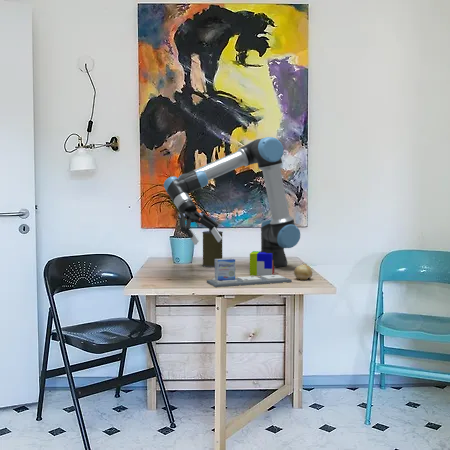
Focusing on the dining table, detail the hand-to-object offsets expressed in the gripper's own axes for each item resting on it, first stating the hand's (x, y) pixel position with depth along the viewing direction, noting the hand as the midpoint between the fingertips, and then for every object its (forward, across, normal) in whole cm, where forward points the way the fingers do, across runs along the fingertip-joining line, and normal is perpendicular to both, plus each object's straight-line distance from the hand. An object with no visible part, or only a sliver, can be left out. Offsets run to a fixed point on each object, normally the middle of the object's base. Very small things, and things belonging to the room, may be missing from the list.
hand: (208, 241), depth 241 cm
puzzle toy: (+15, -31, -10) cm, 35 cm away
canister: (-11, -34, -36) cm, 50 cm away
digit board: (+22, -10, -2) cm, 24 cm away
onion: (+31, -32, +6) cm, 45 cm away
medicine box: (+18, 0, -4) cm, 18 cm away
